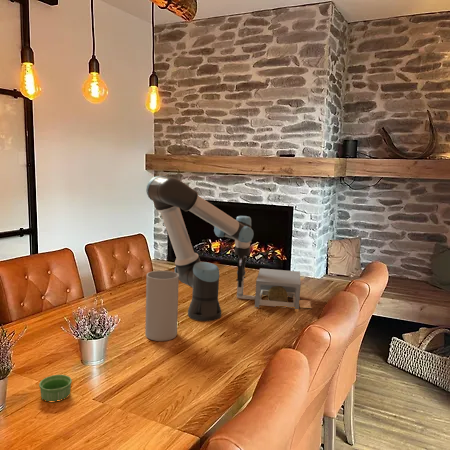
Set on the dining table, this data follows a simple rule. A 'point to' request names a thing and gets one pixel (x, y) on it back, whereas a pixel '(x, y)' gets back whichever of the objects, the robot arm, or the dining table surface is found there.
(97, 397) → the dining table surface
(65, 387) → the ramekin
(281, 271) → the tunnel
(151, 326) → the cylinder vase
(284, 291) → the rock
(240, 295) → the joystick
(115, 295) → the dining table surface
